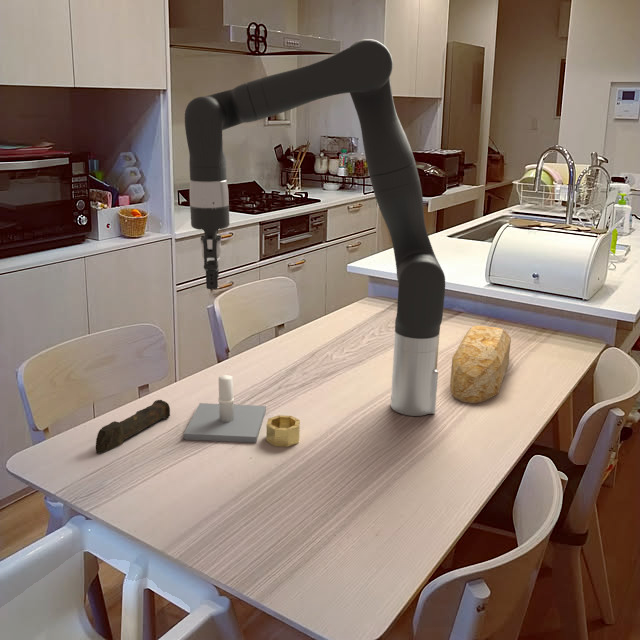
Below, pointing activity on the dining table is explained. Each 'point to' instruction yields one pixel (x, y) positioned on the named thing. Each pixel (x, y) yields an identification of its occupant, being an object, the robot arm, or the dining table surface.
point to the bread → (480, 364)
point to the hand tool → (130, 426)
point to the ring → (283, 430)
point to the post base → (226, 430)
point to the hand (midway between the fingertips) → (212, 283)
